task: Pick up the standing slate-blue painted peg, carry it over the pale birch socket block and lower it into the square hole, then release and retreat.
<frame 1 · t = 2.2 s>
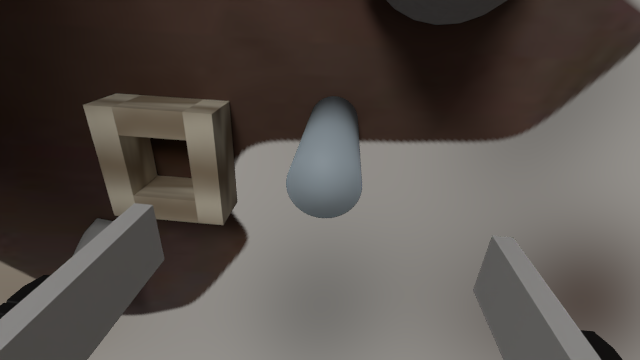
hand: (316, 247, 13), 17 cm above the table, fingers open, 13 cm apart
peg: (333, 120, 28), on the table
socket block: (180, 151, 31), on the table
flask: (119, 243, 37), on the table
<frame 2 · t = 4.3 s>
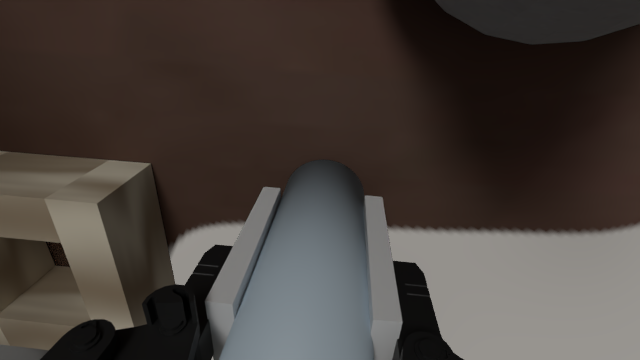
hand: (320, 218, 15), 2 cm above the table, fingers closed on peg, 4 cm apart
peg: (324, 195, 17), on the table, touching gripper
socket block: (84, 234, 19), on the table
flask: (19, 346, 26), on the table
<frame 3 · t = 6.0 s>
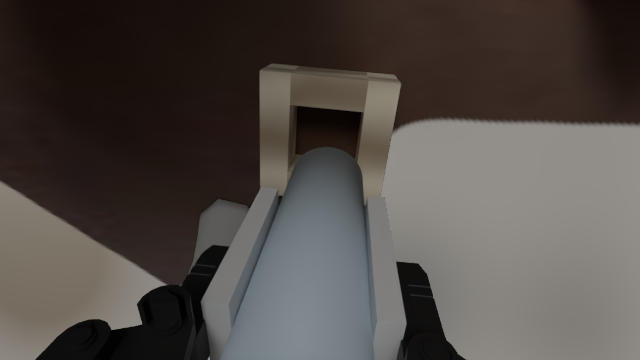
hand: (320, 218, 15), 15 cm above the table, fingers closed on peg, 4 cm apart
peg: (327, 180, 19), point 11 cm above the table, touching gripper
socket block: (327, 128, 29), on the table
flask: (233, 227, 35), on the table
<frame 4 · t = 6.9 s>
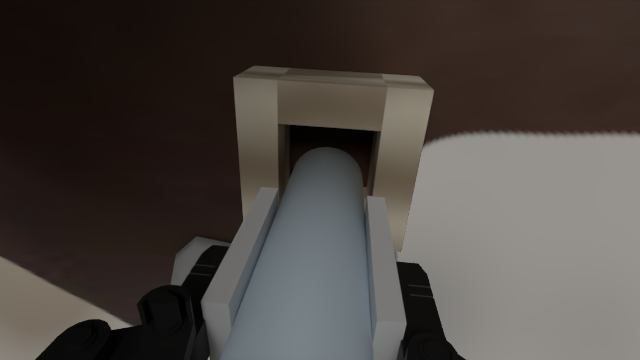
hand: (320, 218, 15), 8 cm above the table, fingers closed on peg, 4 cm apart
peg: (326, 180, 19), point 4 cm above the table, touching gripper
socket block: (330, 147, 22), on the table
flask: (218, 268, 28), on the table
when the fingers open (5 cm above the table, at t = 7.8 s): peg stays where it is, on the table.
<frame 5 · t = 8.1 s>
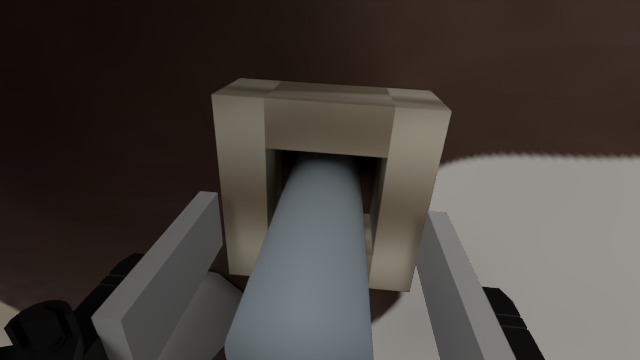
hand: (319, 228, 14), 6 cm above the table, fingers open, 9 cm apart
peg: (326, 172, 20), on the table
socket block: (328, 170, 19), on the table
flask: (204, 298, 26), on the table
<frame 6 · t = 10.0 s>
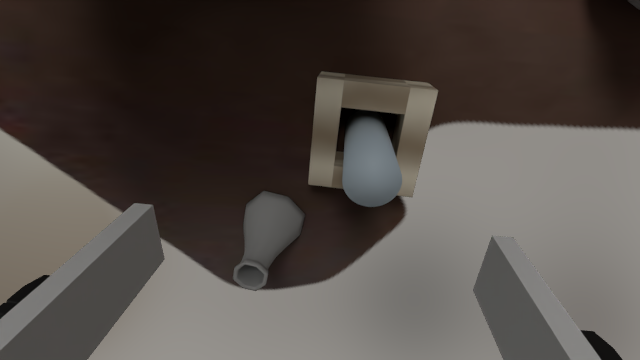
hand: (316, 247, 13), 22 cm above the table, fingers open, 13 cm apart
peg: (365, 129, 33), on the table
socket block: (366, 128, 33), on the table
flask: (274, 217, 39), on the table
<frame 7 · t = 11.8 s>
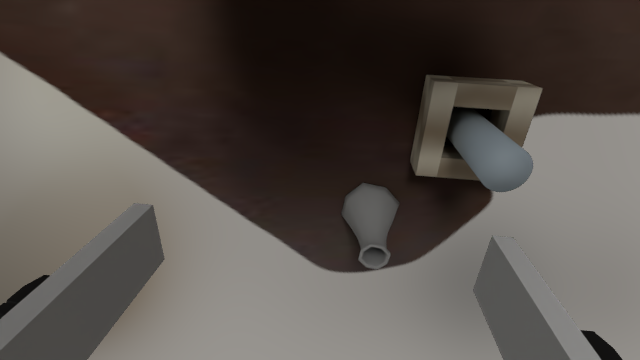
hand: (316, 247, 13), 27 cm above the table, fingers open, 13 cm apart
peg: (461, 124, 37), on the table
socket block: (462, 123, 37), on the table
flask: (369, 206, 43), on the table
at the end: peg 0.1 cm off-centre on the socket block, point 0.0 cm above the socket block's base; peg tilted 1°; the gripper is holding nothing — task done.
